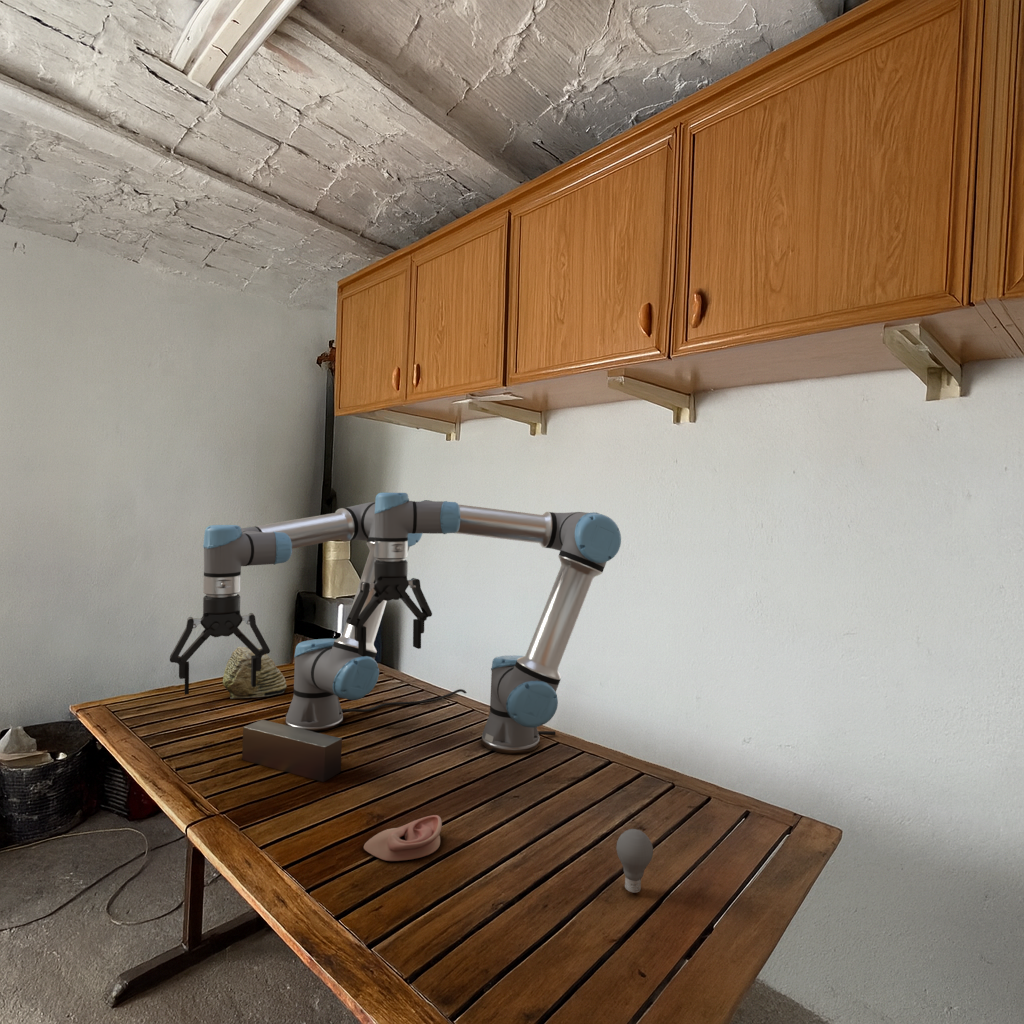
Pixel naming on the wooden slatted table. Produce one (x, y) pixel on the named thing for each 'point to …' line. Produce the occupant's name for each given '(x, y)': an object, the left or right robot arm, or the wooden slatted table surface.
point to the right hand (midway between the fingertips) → (390, 651)
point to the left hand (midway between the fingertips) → (220, 688)
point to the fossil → (240, 676)
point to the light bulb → (634, 857)
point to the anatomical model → (407, 840)
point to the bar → (292, 750)
